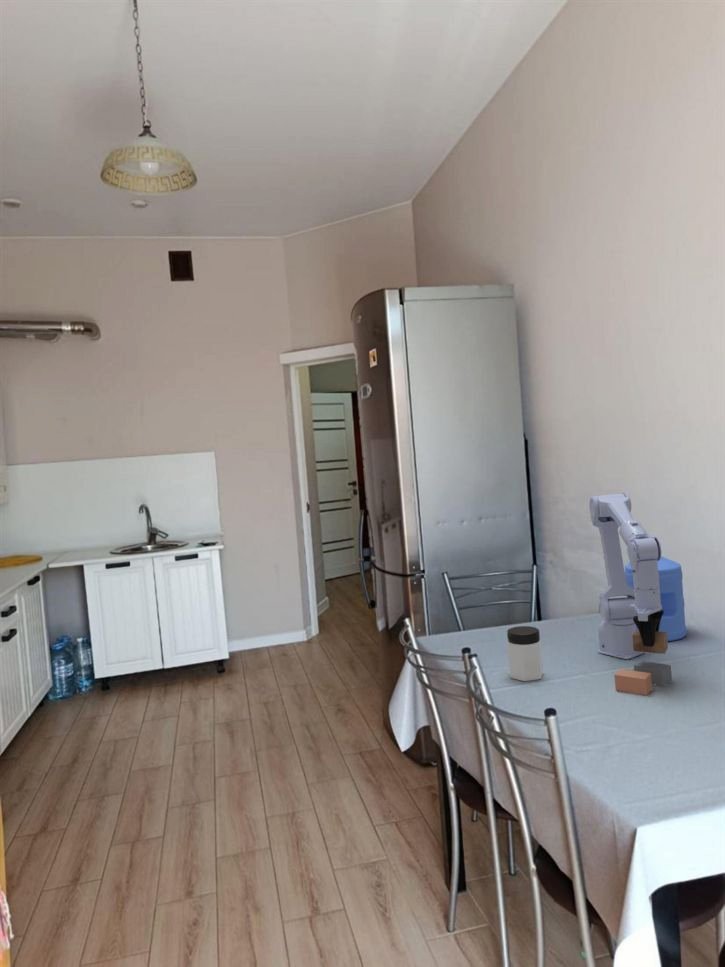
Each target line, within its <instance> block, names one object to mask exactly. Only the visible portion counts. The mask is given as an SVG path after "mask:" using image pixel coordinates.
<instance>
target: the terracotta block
mask: <svg viewBox="0 0 725 967" xmlns="http://www.w3.org/2000/svg"><path fill="white" fill-rule="evenodd" d="M614 685H615V687H614V688H615V691H616V690H619V691H618V692H621V691H624V692H623V693H627V692H630V693H629V694H634V693H635V695H640V694H641V695H640V696H642V695H643V696H647V695H648V694H650V692H651V691H652V690H653V684H652V679H651V673H647V672H639V671H634V670H630V669H625V668H624V669H623V668H620V669H619V670H618V671H617V672H616V673H615V674H614ZM651 689H652V690H651ZM650 690H651V691H650Z"/></svg>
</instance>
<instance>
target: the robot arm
mask: <svg viewBox="0 0 725 967" xmlns="http://www.w3.org/2000/svg"><path fill="white" fill-rule="evenodd" d="M589 511H590V512H589V513H590V519H591V520H590V521H591V522H592V526H593V527H596V528H598V531H599V534H600V540H601V545H602V547H601V548H602V552H603V554H602V555H603V559H604V566H605V574H606V578H607V579H606V580H607V587H606V588H605V589H604V590H602V591H601V593H600V594H599V596H598V597H599V598H598V599H599V612H600V616H601V618H602V621H600V623H599V626H598V640H599V642H598V643H599V644H598V645H599V650H598V651H597V652H598V654H602V655H605V656H606V655H607V656H612V657H615V658H620V659H623V660H624V659H625V660H629V659H630V660H631V659H633V658H635V657H638V656H641V655H643V654H645V653H646V652H637V651H634V650H633V637H632V635H633V633H634V632H635V631H636V626H637V628H638V630H639V632H640V635H641V639H642V642H643V645H644V646H649V647H653V646H654V641H655V631H659V626H660V621H661V618H662V615H663V613H664V610H661V609H662V605H661V601H660V587H659V573H658V562H657V561H659V560H660V559H661V556H662V546H661V542H660V541H659V539H658V537H657V536H653V535H649V534H648V532H647V531H646V529H645V528H644V526H643V525H642V523H641V522H639V521H638V520H635V519H634V518H633V516H632V514H631V513H632V502H631V498H630V495H629V494H628V493H626V492H623V493H614V494H601V495H595V494H594V495H592V496H591V497H590V499H589ZM620 537H621V539H622V541H623V542H624V544H625V545H626V547H627V548H626V549H627V551H626V553H627V558H629V559H628V560H629V563H630V566H631V569H633V582H634V590H633V589H632V588H630V587H628V586H627V584H626V578H625V566H624V560H623V554H622V553H623V552H622V547H621V541H620ZM615 597H616V598H615Z"/></svg>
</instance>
